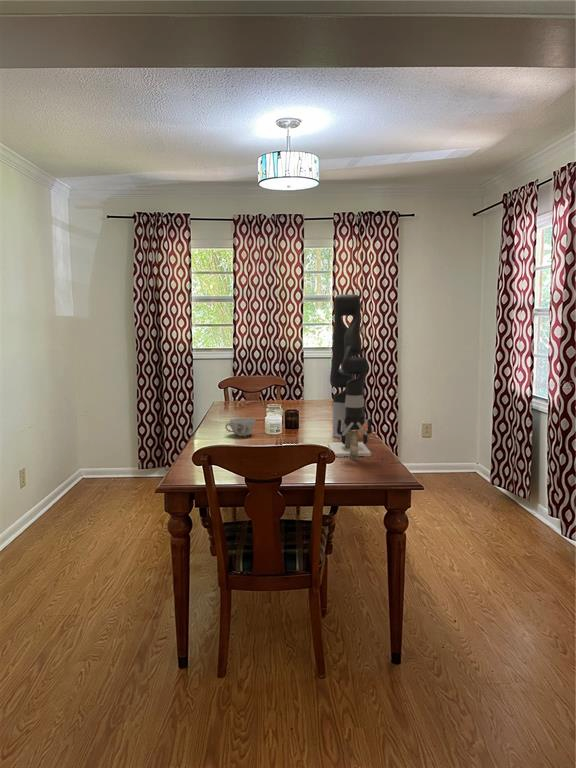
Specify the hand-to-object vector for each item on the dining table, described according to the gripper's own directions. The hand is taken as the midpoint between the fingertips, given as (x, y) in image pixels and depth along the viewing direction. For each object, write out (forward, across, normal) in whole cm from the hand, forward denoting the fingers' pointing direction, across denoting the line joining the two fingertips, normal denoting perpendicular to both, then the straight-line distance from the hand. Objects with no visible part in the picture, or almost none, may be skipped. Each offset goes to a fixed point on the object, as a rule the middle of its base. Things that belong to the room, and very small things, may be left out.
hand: (354, 443), depth 242 cm
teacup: (+6, +48, -48) cm, 69 cm away
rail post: (+7, 0, 0) cm, 7 cm away
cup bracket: (+6, 0, -14) cm, 16 cm away
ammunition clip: (+7, +28, +9) cm, 31 cm away
